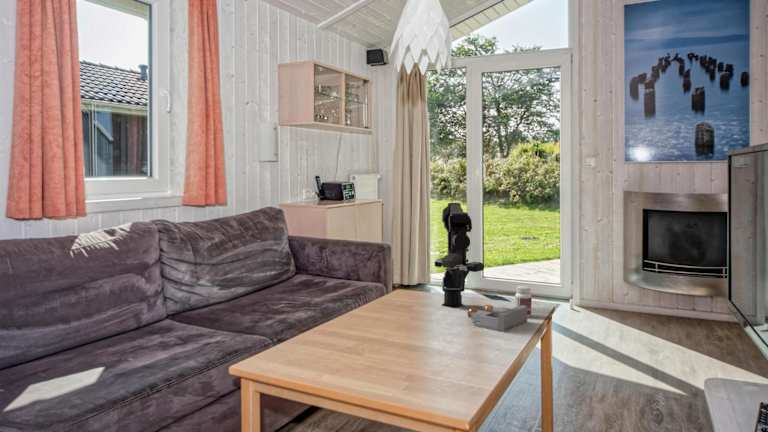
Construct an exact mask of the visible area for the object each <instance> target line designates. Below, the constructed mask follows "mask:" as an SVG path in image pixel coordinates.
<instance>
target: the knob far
mask: <svg viewBox="0 0 768 432" xmlns="http://www.w3.org/2000/svg"><path fill="white" fill-rule="evenodd" d="M507 310H508V309H503V307H499V306H498V307H497V306H493V305H491V304H485V305H484V307H483V311H487V312H492V311H497V312H505V311H507Z"/></svg>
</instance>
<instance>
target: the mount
mask: <svg viewBox="0 0 768 432" xmlns="http://www.w3.org/2000/svg"><path fill="white" fill-rule="evenodd" d="M502 308H503V309H508V310H507V311H505V312H497V311H492V313H493V317H490V316H485V315H480V322H479V321H475V322H474V323H473V325H474V327H479V328H482V329H488V330H491V331H498V332H501V333H505V332H508V331H510V330H512V329H514V328H517V327H519V326H521V325H522V326H523V324H527V323H528V317H527V306H523V305H521V306H518V307H515V306H514V307H506V306H503V307H502Z"/></svg>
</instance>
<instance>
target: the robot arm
mask: <svg viewBox="0 0 768 432" xmlns="http://www.w3.org/2000/svg"><path fill="white" fill-rule="evenodd" d="M461 205H462V204H461V203H459V202H449V203H447V206H445V208H443V209H442V214H441V221H442V223H443V227H444V230H445V231H446V233H447V254H446V255H444V257H440V258H436V259H435V261H434V267H437V268H443V269H445V271H444V273H443V276H442V281H441V282H442V283H441V284H442V285H441V287H442V288H441V290H442V292H444V295H443V296H444V298H443V299H444V300H443V302H444V303H442V304H441V306H445V307H450V308H458V307H461V306H463V305H464V303H462V302H463V299H462V298H463V295H462V293H463V292H465V285H466V279H467V277H468V275H469V273H471V272H474V273H478V272H481V271H484V270H485V265H484V264H483V262H480V261H471V262H469V259H467V253H468V252H469V247H470V246H471V239H470V237H469V236H468V232H469V233H471V232H472V230H473V223H472V219H471V218H472V217H471V216H470V215H469V213H468V212H467V211H464V209H463V208H462V207H461Z"/></svg>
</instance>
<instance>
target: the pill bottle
mask: <svg viewBox="0 0 768 432" xmlns="http://www.w3.org/2000/svg"><path fill="white" fill-rule="evenodd" d="M515 289H516V293H515V294H514V296H515V298H514V308H515V307H518V306H521V305H523V306H527V318H530V317H531V316H532V299H533V298H532V294H531V293H530V292H531V286H528V285H516V288H515Z"/></svg>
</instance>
